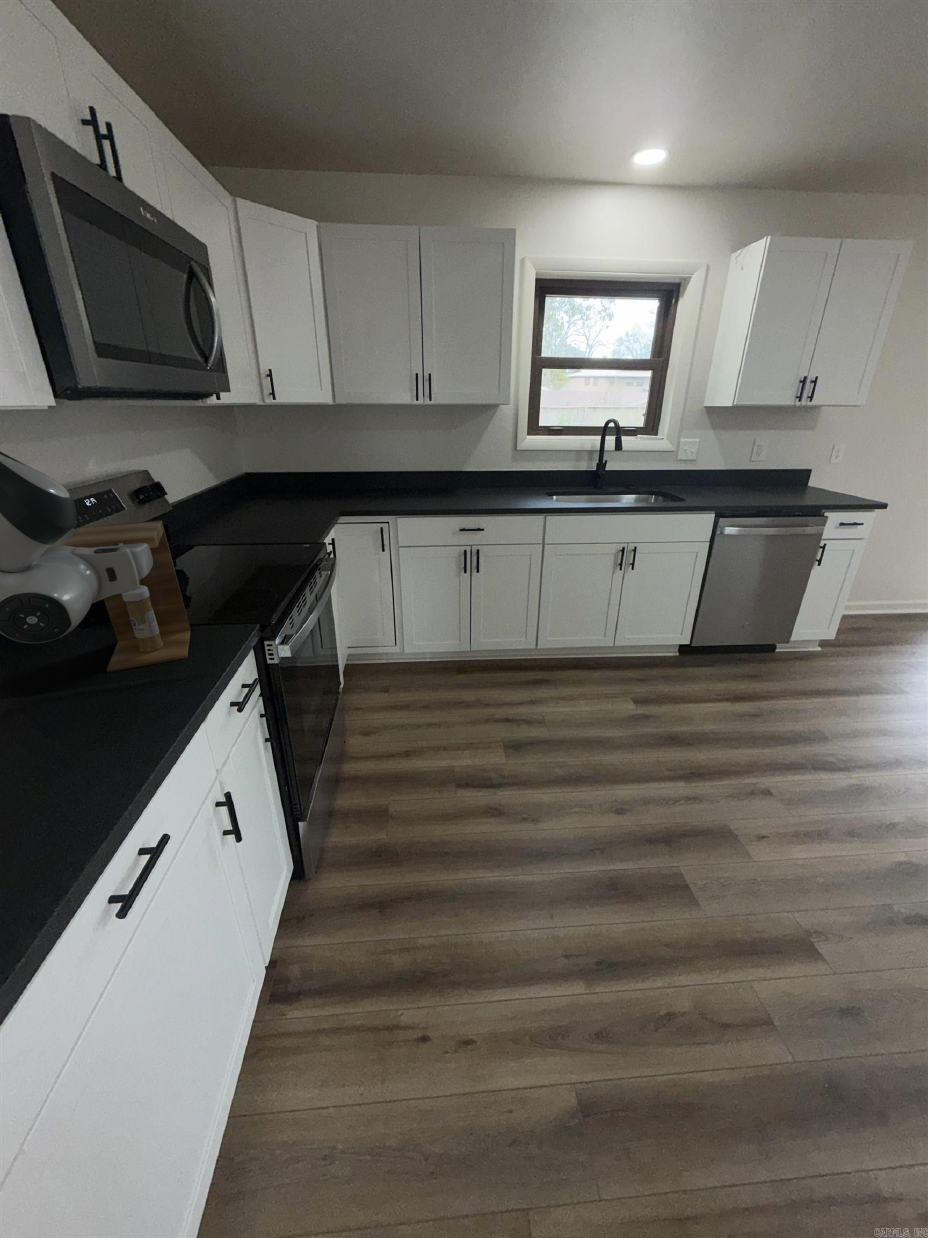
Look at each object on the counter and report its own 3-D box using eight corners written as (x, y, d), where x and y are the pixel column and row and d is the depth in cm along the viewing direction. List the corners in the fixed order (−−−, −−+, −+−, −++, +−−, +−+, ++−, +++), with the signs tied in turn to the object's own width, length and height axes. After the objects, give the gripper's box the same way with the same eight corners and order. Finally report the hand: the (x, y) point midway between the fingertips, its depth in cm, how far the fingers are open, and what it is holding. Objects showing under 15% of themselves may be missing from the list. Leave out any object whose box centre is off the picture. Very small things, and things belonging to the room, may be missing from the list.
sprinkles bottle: (134, 651, 103) (114, 591, 97) (150, 641, 107) (133, 583, 101) (153, 653, 102) (134, 593, 97) (169, 643, 106) (152, 585, 101)
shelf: (189, 664, 102) (154, 536, 91) (109, 678, 97) (62, 545, 86) (192, 636, 114) (161, 520, 103) (121, 647, 109) (81, 527, 97)
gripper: (-16, 608, 70) (17, 577, 81) (150, 587, 77) (159, 561, 89) (-35, 566, 67) (2, 540, 78) (139, 548, 75) (150, 527, 86)
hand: (86, 551), depth 84 cm, fingers open, 8 cm apart
